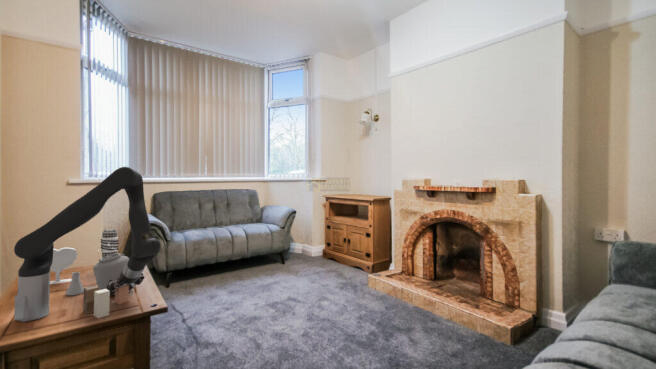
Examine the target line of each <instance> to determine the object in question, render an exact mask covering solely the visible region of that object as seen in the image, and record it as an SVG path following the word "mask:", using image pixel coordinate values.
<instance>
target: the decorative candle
mask: <svg viewBox="0 0 656 369" xmlns="http://www.w3.org/2000/svg"><path fill="white" fill-rule="evenodd" d="M101 233H102V234H101V238H100V249H101V250H100V252H101V257H100V258H102V257H105V256H108V255H111V254H116V253H118V252H119V251H118V250H119V244H120V243H119V241H120V240H118V238H119V237H118V230H117V229H116V228H107V229H104V230H103V231H101ZM108 244H109V245H108ZM104 249H105V250H104ZM114 249H115V250H116V251H115V250H114Z"/></svg>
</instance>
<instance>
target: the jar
mask: <svg viewBox="0 0 656 369" xmlns="http://www.w3.org/2000/svg"><path fill="white" fill-rule="evenodd" d="M108 245H109V244H108ZM99 250H100V249H97V251H99ZM104 250H105V249H104ZM114 250H115V249H114ZM115 251H116V250H115ZM99 252H100V251H99ZM124 254H125V253H123V254H122V253H120V252H119V253H118V252H117V253H116V254H111V255H108V256H105V257H102V256H101V257H102V258H101V257H100V258H98V262H97V263H95V264H94V266H93V267H92V268H93V270H92V271H93V274H94V278H95V281H96V286H97V287H99V290H102V289H107V285H108V282H109V281H110V280H113V281H115V280H117V279H118V278H119V276H120V273H121V272H122V270H123V268H124V266H125V265H126V263H127V262H128V261H129V259H130V257H128V256H126V255H124ZM113 295H115V293H114V294H113Z"/></svg>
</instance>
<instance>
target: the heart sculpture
mask: <svg viewBox="0 0 656 369" xmlns="http://www.w3.org/2000/svg"><path fill="white" fill-rule="evenodd" d="M77 256H78V252H77V249H76V248H74V247H66V246H65V247H61V248H60V249H56V248H54V249H53V261H52V265H51V267H50V272H53V273H55V280H50V285H54V284H55V285H56V284H63V283H69V282H71V280H72V278H66V279H61V272H63V271H64V270H66V269H67V268H69V267H70V266H71V265H73V264H74V262H76V260H77Z"/></svg>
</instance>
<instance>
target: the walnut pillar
mask: <svg viewBox="0 0 656 369" xmlns="http://www.w3.org/2000/svg"><path fill="white" fill-rule="evenodd" d="M98 290H99V287H98V286H97V285H90V286H87V287H84V292H83V301H82V302H83V303H82V304H83V306H82V308H83V310H82V312H83V313H85V315H86V314H87V315H89V314H93V313H94V291H98Z"/></svg>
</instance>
